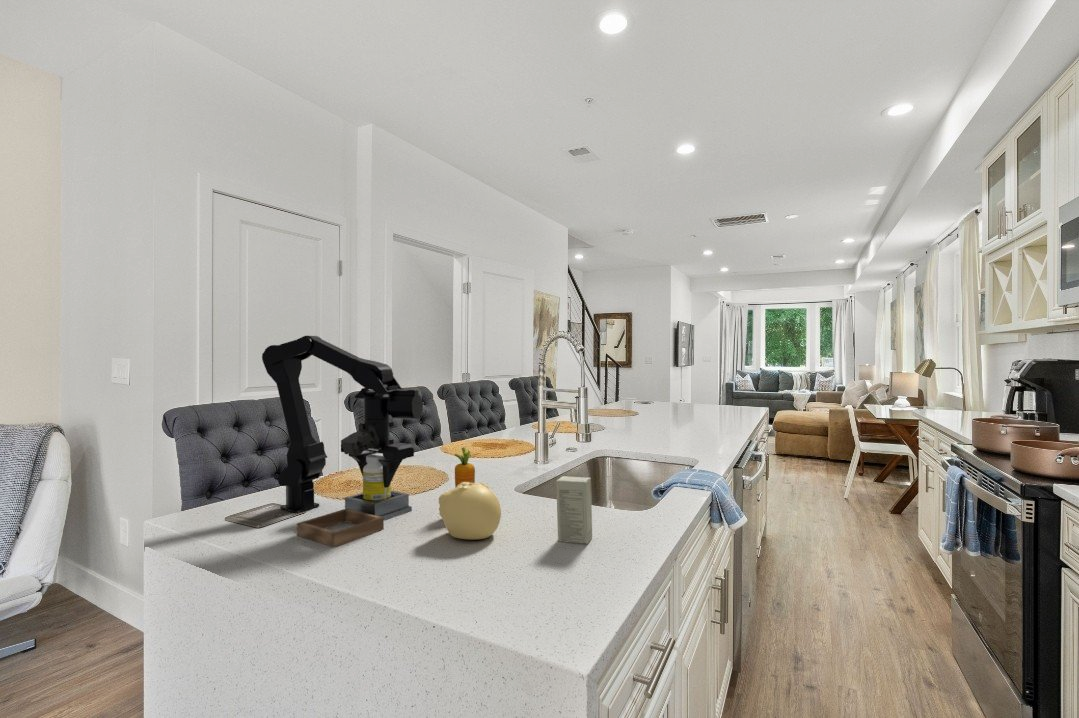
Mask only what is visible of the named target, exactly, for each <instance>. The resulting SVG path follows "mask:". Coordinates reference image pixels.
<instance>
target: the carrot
mask: <svg viewBox="0 0 1079 718" xmlns="http://www.w3.org/2000/svg"><path fill="white" fill-rule="evenodd" d="M461 452H462V455H460V454H459V453H457V452H456V453H454V456H455V457H457V458H458V459H459V461H460V462H461V463H458V464H456V465H455V466H454V488H456V487H457V485H458V484H460V483H462V482H469V483H476V482H475V481H476V480H475V479H476V471H475V469H476V468H475V466H474V464H473V463H470V462H469V460H470V456H471V451H470V449H469V450H467V449H466V447H461ZM468 462H469V463H468Z"/></svg>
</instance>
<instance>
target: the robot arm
mask: <svg viewBox="0 0 1079 718" xmlns="http://www.w3.org/2000/svg"><path fill="white" fill-rule="evenodd" d="M311 356H313V357H315V358H318V359H319V360H321V361H323V362H326V363H327V364H329V365H332V366H333V367H336V368H337V369H339V370H342V371H343V372H346V373H348V374H349V376H351V378H352V379H353V380H354V381H355V382H356V383H357V384H359V385H360V386H361V387H362V388H361V389H360V390H359V392H357V394H355V395H354V399H358V400H359V399H360V400H361V399H363V422H360V423H359V424H358V430H357V431H354V432H353V433H351V434H349V435H348V436H346V437H344V438H343V439H341V440H340V452H341V453H344V455H348V456H349V457H350V458H352V459H353V460H355V462H357V465H358V467H359V471H360V473H361V475H362V477H363V468H364V466H365V465H367V462H366V456H367V455H370V454H377V453H382V454H383V456H384V458H383V459H378V461H379V462H380V463H381V464H382V466H383V482H384V487H385V488H387V487H389V485H390V483H391V484H392V481H393V479H394V477H395V474H396V472H397V471H398V469H399V467H400V465H401V463H402V462H403V460H406V459H407V458H412V457H414V456H415V447H414V446H413V445H412V444H411V443H404V442H398V443H394V439H392V438H390V432H391V431H390V430H391V429H390V427H394V421H390V419H391V418H392V419H393V420H394V419H397V420H419V419H420V418H421V416H422V413H423V408H424V404H423V401H422V397H421V395H419V389H418V388H417V389H415V388H412V389H403V388H402V387H401V385H400V384H399V382H398V380H397V379H396V378H395V376H394V372H393V369H392V367H391V366H390V365H388V364H386V363H383V362H379V361H376V360H371V359H365V358H362V357H359V356H358V355H355V354H353V353H350V352H349V351H347V350H344V349H342V348H340V347H338V346H337V345H335V344H333V343H330V342H329V341H326V340H324V339H323V338H321V337H320V336H318V335H304V336H301V337H299V338H296V339H294V340H291V341H287V342H283V343H281V344H272V345H269V346H267V347H266V348H265V349H264V351H263V352H262V354H261V360H262V363H263V366H264V368H265V371H266V373H267V374H268V376H269V377H270V378H271V379H272V381H273V382H274V383H275V385H276V387H277V391H278V395H279V400H280V404H281V410H282V413H283V417H284V421H285V427H286V430H287V433H288V434H287V435H288V438H289V445H288V450H287V452H286V467H285V468H284V469H283V471H281V473H279V475H277V477H276V478H277V482H278V484H279V486H280V487H281V486H282V487H285V504H283V505H280V506H279V509H280V508H281V510H284V509H285V510H284V511H288V510H289V511H288V512H292V511H293V513H299V512H298V511H300V512H302V511H307V510H310V509H313V508H318V507H319V506H320V503H319V502H315V488H314V485H315V484H314V480H317V479H319V478H320V476H321V472H322V471H323V470H324V467H326V466H327V465H326V464H327V463H326V461H327V460H326V459H327V458H328V455H327V454H326V450H325V443H324V441H318V442H317V440H315V438H314V437H313V435H312V431H311V426H310V421H309V419H308V414H307V410H306V406H305V401H304V397H303V393H302V388H301V385H300V375H301V373H302V368H303V366H302V364H303V363H302V362H303V361H304V360H306V359H309V358H310V357H311ZM390 416H391V418H390Z"/></svg>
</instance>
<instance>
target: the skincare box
mask: <svg viewBox="0 0 1079 718" xmlns="http://www.w3.org/2000/svg"><path fill="white" fill-rule="evenodd" d="M555 484H556V510H557V511H556V512H557V513H556V515H557V521H556V522H557V541H558V542H562V541H566V542H565V543H572V542H578V543H577V544H583V543H588V544H589V542H590V541H591V540H592V539H593V513H592V511H593V510H592V508H593V507H592V478H591V477H586V476H585V477H584V476H568V475H565V476H564V475H562V476H561V477H559V478H558V479H556V483H555Z"/></svg>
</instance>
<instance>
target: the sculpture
mask: <svg viewBox="0 0 1079 718" xmlns="http://www.w3.org/2000/svg"><path fill="white" fill-rule="evenodd" d="M438 503H439V507H438V510H439V516H440V518H441V519H442V522H443V523H444V526H445V528H446V530H447V531H448V533H449V535H450V536H451V537H453V538H456V539H459V540H461V539H462V540H471V541H472V540H482V539H486V538H489V537H491V536H492V535H493V534H494V533H495V532H496V531H497V529H498V527H499V525H500V522H501V518H502V508H501V503H500V501H499V499H498V497H497V495H496V494H495V493H494V491H492V490H491V489H490V487H489V485H487V484H485V483H484V482H475V483H469V482H462V483H460V484H458V485H457V487H456V488H455V487H454V488H452V489H450V490H448V491H445V492H444V493H442V494H440V496H439V497H438Z"/></svg>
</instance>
